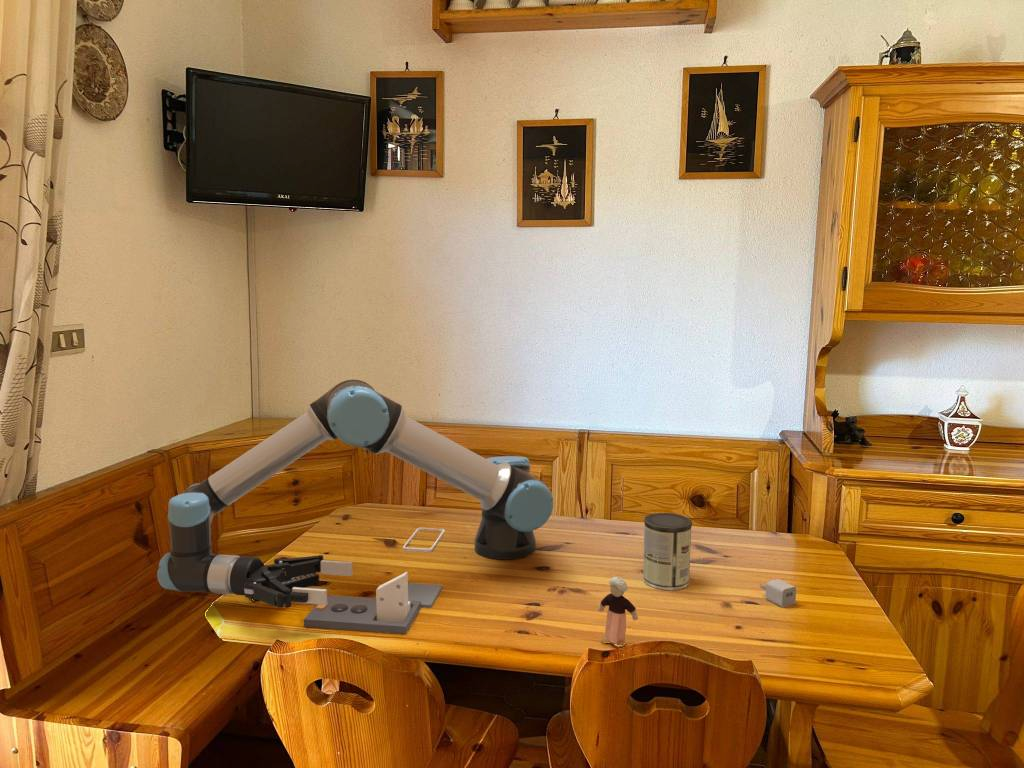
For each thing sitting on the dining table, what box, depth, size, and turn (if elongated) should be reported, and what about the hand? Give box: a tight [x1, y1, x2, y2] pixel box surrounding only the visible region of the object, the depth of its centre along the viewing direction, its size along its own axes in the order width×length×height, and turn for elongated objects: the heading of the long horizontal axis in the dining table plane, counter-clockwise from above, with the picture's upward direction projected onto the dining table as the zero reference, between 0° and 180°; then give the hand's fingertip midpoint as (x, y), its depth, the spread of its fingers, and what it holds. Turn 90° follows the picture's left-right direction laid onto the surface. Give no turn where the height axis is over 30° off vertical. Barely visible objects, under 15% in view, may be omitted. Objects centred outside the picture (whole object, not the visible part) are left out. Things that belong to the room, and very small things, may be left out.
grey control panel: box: [303, 594, 422, 635], centre depth 142 cm, size 20×11×2 cm, turn 82°
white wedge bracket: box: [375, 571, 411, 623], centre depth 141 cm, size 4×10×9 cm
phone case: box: [402, 527, 446, 553], centre depth 184 cm, size 7×1×15 cm
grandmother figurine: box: [597, 576, 639, 648], centre depth 132 cm, size 8×4×13 cm, turn 69°
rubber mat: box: [408, 582, 444, 609], centre depth 152 cm, size 12×10×1 cm
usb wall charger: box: [759, 578, 797, 608], centre depth 152 cm, size 4×7×4 cm, turn 28°
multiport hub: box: [250, 572, 320, 602], centre depth 155 cm, size 4×14×2 cm, turn 133°
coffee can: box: [642, 512, 693, 591], centre depth 160 cm, size 10×10×14 cm
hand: (339, 582), depth 142 cm, fingers open, 13 cm apart
